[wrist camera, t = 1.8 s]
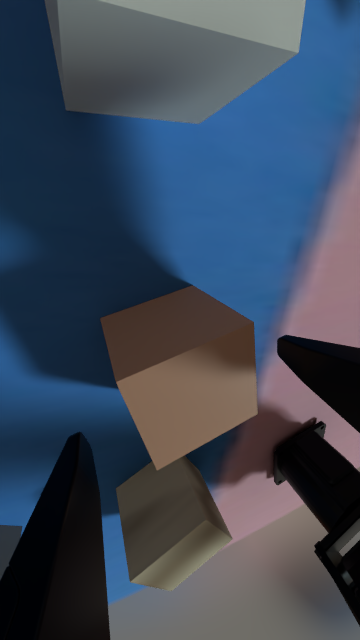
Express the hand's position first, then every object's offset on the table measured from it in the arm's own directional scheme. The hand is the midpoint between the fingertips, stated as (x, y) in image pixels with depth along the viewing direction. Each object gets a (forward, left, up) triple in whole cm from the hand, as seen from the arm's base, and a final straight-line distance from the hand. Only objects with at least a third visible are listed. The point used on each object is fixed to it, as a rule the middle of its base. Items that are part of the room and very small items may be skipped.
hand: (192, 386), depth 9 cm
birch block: (-12, +3, -4) cm, 13 cm away
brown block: (0, 0, -4) cm, 4 cm away
